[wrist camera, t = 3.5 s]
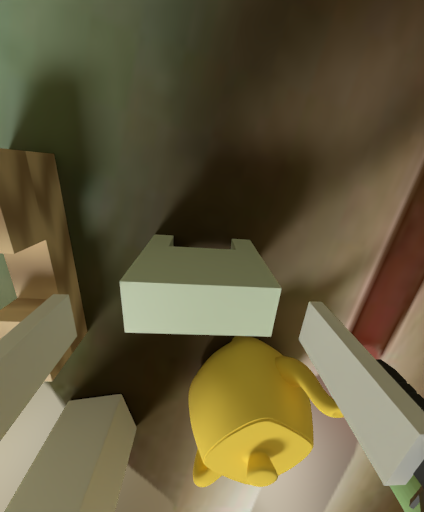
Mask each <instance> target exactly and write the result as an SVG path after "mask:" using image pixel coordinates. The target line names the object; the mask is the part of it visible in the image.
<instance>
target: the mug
mask: <svg viewBox="0 0 424 512" xmlns="http://www.w3.org/2000/svg"><path fill="white" fill-rule="evenodd" d="M390 487H391V489H392V491H393V492H394V494H395V496H396V498H397V499H398V501H399V503H400V504H401V506H402V508H403V509H404V511H405V512H421V509H420V502H419V504H418V505H417V506H416V507H415V508H414V509H412V508H411V507H409V503H410V499H411V498H412V497H413V496H414V494H415V493H416V492H417V491H418V490H419V488H420V487H421V484H420V483H419V481H418V480H417V479H416V477H415V476H414V475H413V476H412V477H411V479H410V480H409V481H408V483H407V484H406V485H390Z"/></svg>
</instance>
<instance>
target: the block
mask: <svg viewBox="0 0 424 512" xmlns="http://www.w3.org/2000/svg"><path fill="white" fill-rule="evenodd" d="M119 282H120V291H121V301H122V310H123V320H124V329H125V333H159V334H194V335H229V336H264V337H271V335H272V330H273V326H274V321H275V316H276V312H277V307H278V303H279V298H280V294H281V289H282V288H281V287H280V285H279V283H278V282H277V280H276V279H275V277H274V276H273V274H272V273H271V271H270V270H269V268H268V267H267V265H266V264H265V262H264V261H263V259H262V258H261V256H260V254H259V253H258V251H257V250H256V248H255V247H254V245H253V244H252V242H251V241H250V240H245V239H232V241H231V249H212V248H193V247H174V236H173V235H154V236H153V237H152V239H151V240H150V241H149V243H148V244H147V245H146V247H145V248H144V249H143V251H142V252H141V253H140V255H139V256H138V257H137V259H136V260H135V261H134V263H133V264H132V265H131V267H130V268H129V269H128V271H127V272H126V273H125V275H124V276H123V277H122V279H121V280H120V281H119Z"/></svg>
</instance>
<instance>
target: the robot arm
mask: <svg viewBox="0 0 424 512" xmlns="http://www.w3.org/2000/svg"><path fill="white" fill-rule="evenodd" d="M76 337H77V332H76V327H75V322H74V318H73V313H72V308H71V303H70V298H69V295H67V294H53V295H52V296H51V297H49V298H48V299H47V300H46V301H45V302H43V303H42V304H41V305H40V306H39V307H38V308H36V309H35V310H34V311H33V312H32V313H31V314H29V315H28V316H27V317H26V318H25V319H24V320H22V321H21V322H20V323H19V324H18V325H17V326H15V327H14V328H13V329H12V330H11V331H9V332H8V333H7V334H6V335H5V336H4V337H2V338H1V339H0V441H1V439H2V438H3V436H4V435H5V434H6V432H7V431H8V430H9V428H10V427H11V426H12V424H13V423H14V422H15V420H16V419H17V417H18V416H19V415H20V413H21V412H22V410H23V409H24V408H25V407H26V405H27V404H28V402H29V401H30V400H31V398H32V397H33V396H34V394H35V393H36V392H37V390H38V389H39V387H40V386H41V385H42V383H43V382H44V381H45V379H46V378H47V377H48V375H49V374H50V372H51V371H52V370H53V368H54V367H55V366H56V364H57V363H58V362H59V360H60V359H61V358H62V356H63V355H64V353H65V352H66V351H67V349H68V348H69V347H70V345H71V344H72V343H73V341H74V340H75V338H76ZM299 341H300V343H301V344H302V346H303V348H304V349H305V351H306V353H307V354H308V356H309V358H310V360H311V361H312V363H313V365H314V366H315V368H316V370H317V372H318V373H319V375H320V377H321V378H322V380H323V382H324V383H325V385H326V387H327V389H328V390H329V392H330V394H331V395H332V397H333V399H334V401H335V402H336V404H337V406H338V407H339V409H340V411H341V413H342V414H343V416H344V418H345V419H346V421H347V423H348V424H349V426H350V428H351V430H352V431H353V433H354V435H355V436H356V438H357V440H358V442H359V443H360V445H361V447H362V448H363V450H364V452H365V454H366V455H367V457H368V459H369V460H370V462H371V464H372V465H373V467H374V469H375V471H376V472H377V474H378V476H379V477H380V479H381V481H382V483H383V484H384V486H390V485H406V484H407V483H408V481H409V480H410V479H411V477H412V476H413V475H414V476H415V477H416V479H417V480H418V481H419V483H420V484H421V487H420V488H419V490H418V491H417V492H416V493H415V494H414V496H413V497H412V498H411V499H410V503H409V507H411V508H412V509H414V508H415V507H416V506H417V505H418V504H419V502H420V509H421V512H424V399H423V398H422V397H421V396H420V395H419V394H417V392H416V390H415V389H414V388H413V387H412V386H411V385H410V384H407V381H406V380H405V379H404V378H403V377H402V376H401V375H400V374H399V373H398V372H397V371H396V370H395V369H393V368H392V367H391V366H389V365H388V364H386V363H385V362H384V361H382V360H376V359H375V358H374V357H373V356H372V355H371V354H370V353H369V352H368V351H367V350H366V349H365V348H364V347H363V346H362V344H361V343H360V342H359V341H358V340H357V339H356V338H355V337H354V336H353V335H352V334H351V333H350V332H349V330H348V329H347V328H346V327H345V326H344V325H343V324H342V323H341V322H340V321H339V320H338V319H337V318H336V316H335V315H334V314H333V313H332V312H331V311H330V310H329V309H328V308H327V307H326V306H325V305H324V304H323V302H312V301H309V303H308V307H307V311H306V314H305V318H304V321H303V325H302V328H301V332H300V336H299Z"/></svg>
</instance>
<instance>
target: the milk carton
mask: <svg viewBox="0 0 424 512" xmlns="http://www.w3.org/2000/svg"><path fill="white" fill-rule="evenodd" d="M135 432H136V425H135V423H134V421H133V418H132V416H131V414H130V412H129V409H128V407H127V405H126V403H125V401H124V398H123V396H122V394H117V395H109V396H102V397H94V398H87V399H79V400H72V401H69V402H68V403H67V405H66V407H65V408H64V410H63V412H62V414H61V415H60V417H59V419H58V421H57V422H56V424H55V425H54V427H53V429H52V431H51V432H50V434H49V436H48V438H47V439H46V441H45V443H44V445H43V446H42V448H41V450H40V451H39V453H38V455H37V456H36V458H35V460H34V462H33V463H32V465H31V467H30V468H29V470H28V472H27V474H26V475H25V477H24V479H23V481H22V482H21V484H20V486H19V487H18V489H17V491H16V492H15V494H14V496H13V498H12V499H11V501H10V503H9V505H8V507H7V508H6V510H5V512H115V509H116V505H117V501H118V498H119V494H120V490H121V486H122V482H123V478H124V474H125V471H126V467H127V463H128V459H129V455H130V451H131V448H132V444H133V440H134V436H135Z"/></svg>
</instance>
